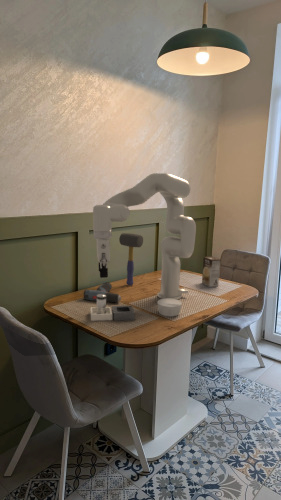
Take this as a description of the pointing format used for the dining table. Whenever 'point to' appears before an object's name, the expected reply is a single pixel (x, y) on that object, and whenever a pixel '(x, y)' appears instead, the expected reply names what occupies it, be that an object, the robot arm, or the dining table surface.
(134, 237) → the rubber mallet
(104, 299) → the shiny metal canister
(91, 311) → the tray
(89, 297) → the power drill
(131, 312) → the block
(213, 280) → the coffee box
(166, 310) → the ramekin
